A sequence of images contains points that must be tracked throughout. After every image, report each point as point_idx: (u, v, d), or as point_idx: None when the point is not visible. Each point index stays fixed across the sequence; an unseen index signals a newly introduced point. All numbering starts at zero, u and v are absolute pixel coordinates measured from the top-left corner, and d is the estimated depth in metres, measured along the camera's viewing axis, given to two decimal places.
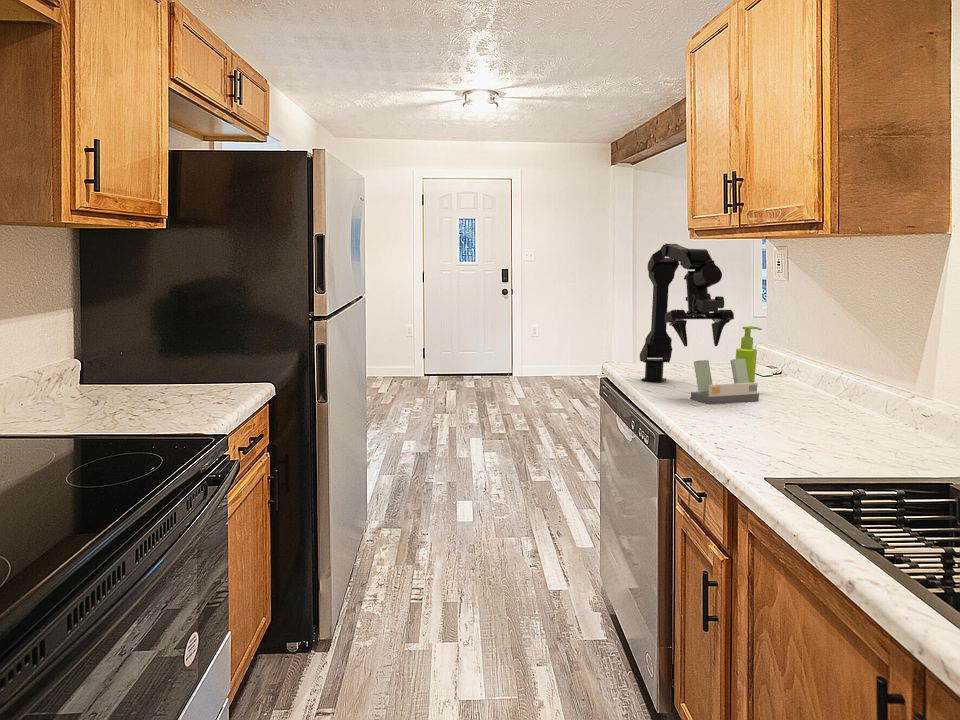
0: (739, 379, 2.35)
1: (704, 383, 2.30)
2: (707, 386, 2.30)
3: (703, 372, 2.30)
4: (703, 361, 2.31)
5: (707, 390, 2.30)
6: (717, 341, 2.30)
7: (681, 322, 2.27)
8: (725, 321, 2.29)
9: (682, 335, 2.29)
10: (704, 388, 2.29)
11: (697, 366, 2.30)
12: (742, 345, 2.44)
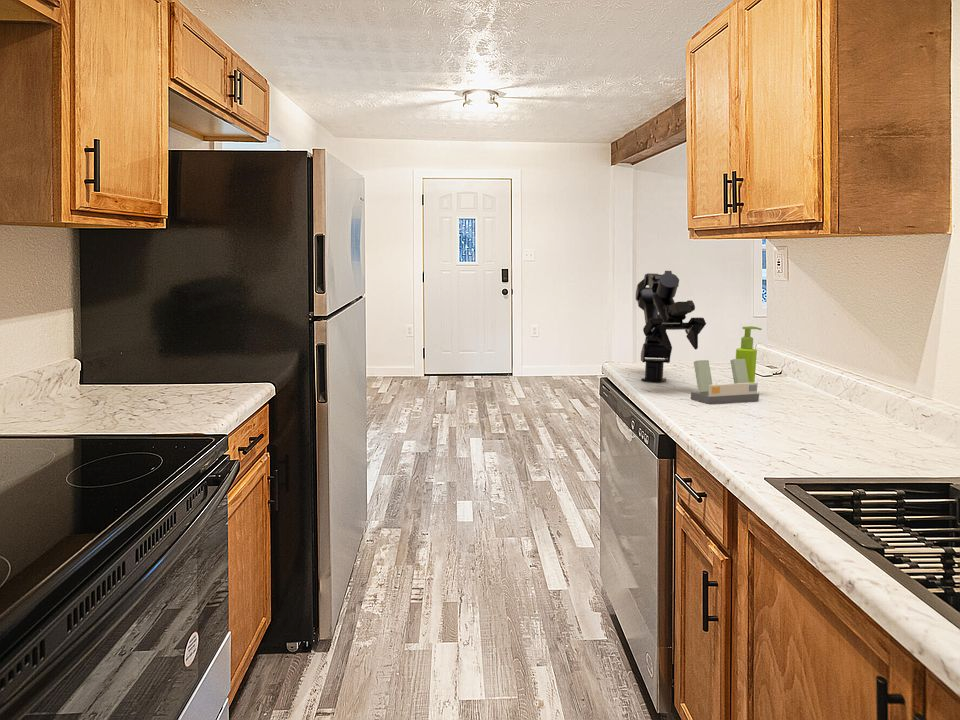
0: (739, 379, 2.35)
1: (704, 383, 2.30)
2: (707, 386, 2.30)
3: (703, 372, 2.30)
4: (703, 361, 2.31)
5: (707, 390, 2.30)
6: (696, 344, 2.43)
7: (661, 327, 2.41)
8: (698, 325, 2.44)
9: (665, 340, 2.41)
10: (704, 388, 2.29)
11: (697, 366, 2.30)
12: (742, 345, 2.44)
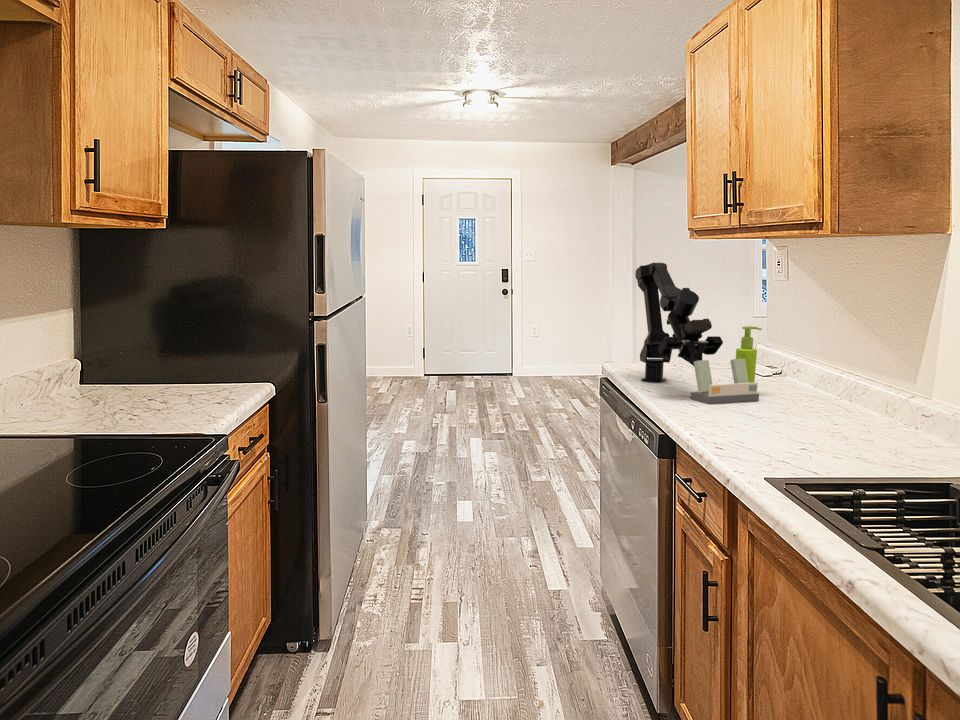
0: (739, 379, 2.35)
1: (704, 383, 2.30)
2: (707, 386, 2.30)
3: (703, 372, 2.30)
4: (703, 361, 2.31)
5: (707, 390, 2.30)
6: None
7: (690, 345, 2.34)
8: (703, 344, 2.35)
9: (693, 359, 2.34)
10: (704, 388, 2.29)
11: (697, 366, 2.30)
12: (742, 345, 2.44)
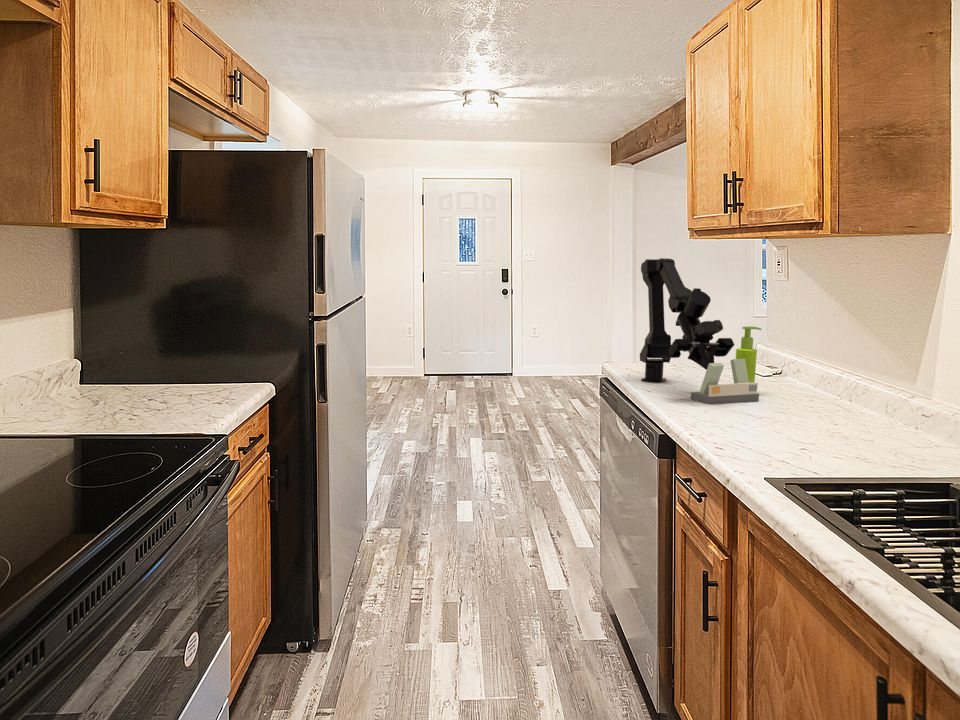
0: (739, 379, 2.35)
1: None
2: None
3: (713, 376, 2.27)
4: (718, 366, 2.25)
5: (708, 392, 2.29)
6: None
7: (700, 347, 2.29)
8: (714, 346, 2.30)
9: (704, 361, 2.29)
10: (707, 391, 2.29)
11: (710, 370, 2.25)
12: (742, 345, 2.44)
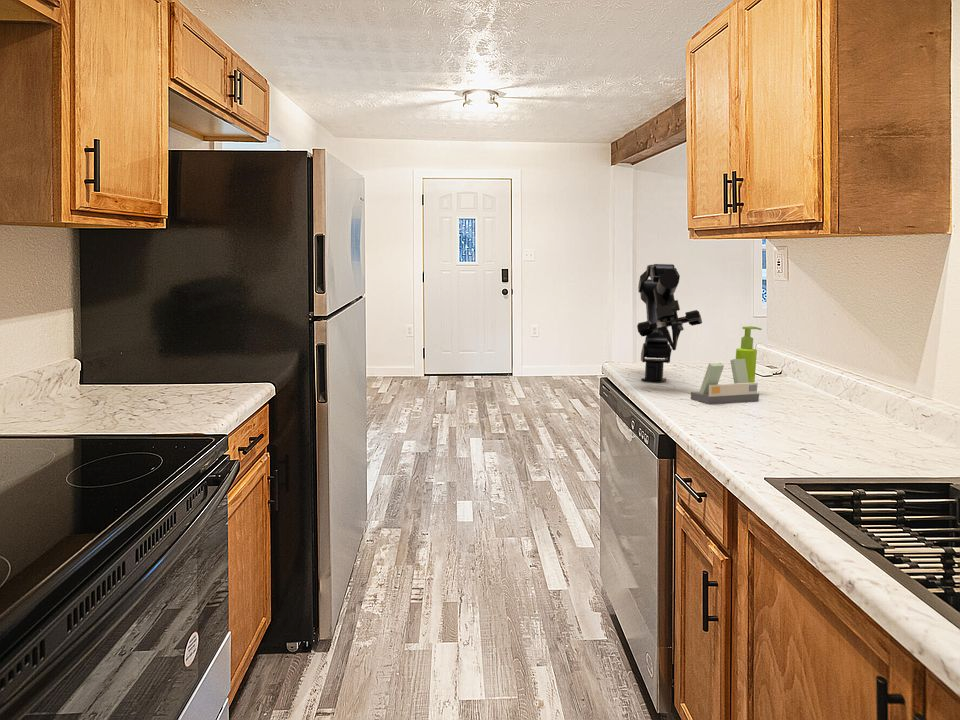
0: (739, 379, 2.35)
1: None
2: None
3: (713, 376, 2.27)
4: (718, 366, 2.25)
5: (708, 392, 2.29)
6: (674, 345, 2.44)
7: (661, 329, 2.44)
8: (676, 325, 2.43)
9: (668, 340, 2.45)
10: (707, 391, 2.29)
11: (710, 370, 2.25)
12: (742, 345, 2.44)
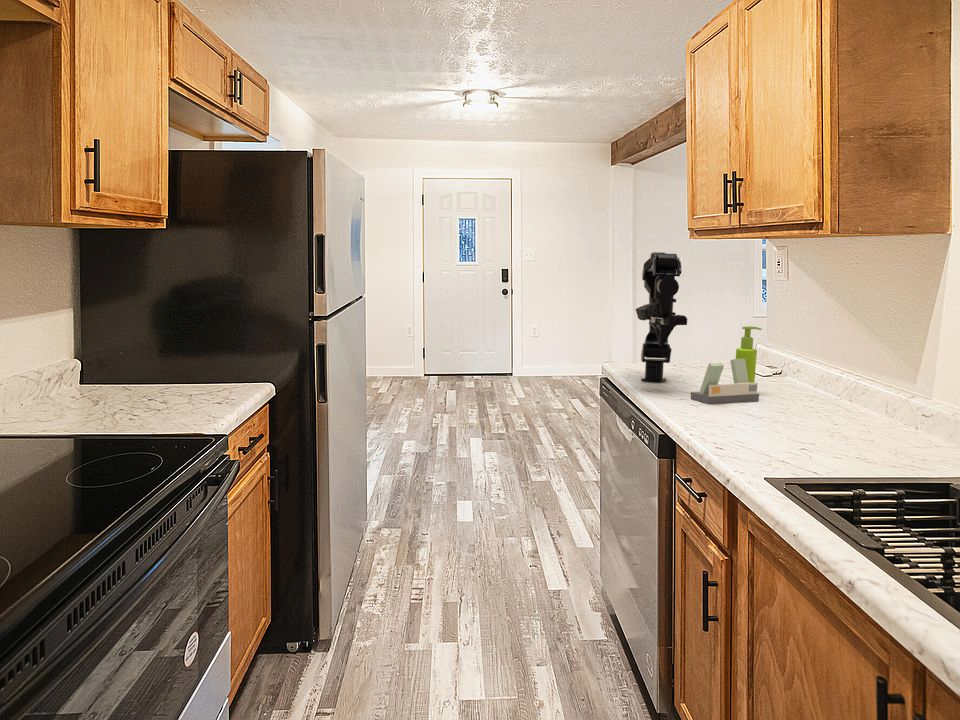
0: (739, 379, 2.35)
1: None
2: None
3: (713, 376, 2.27)
4: (718, 366, 2.25)
5: (708, 392, 2.29)
6: (659, 342, 2.48)
7: (651, 324, 2.49)
8: (658, 325, 2.45)
9: None
10: (707, 391, 2.29)
11: (710, 370, 2.25)
12: (742, 345, 2.44)
